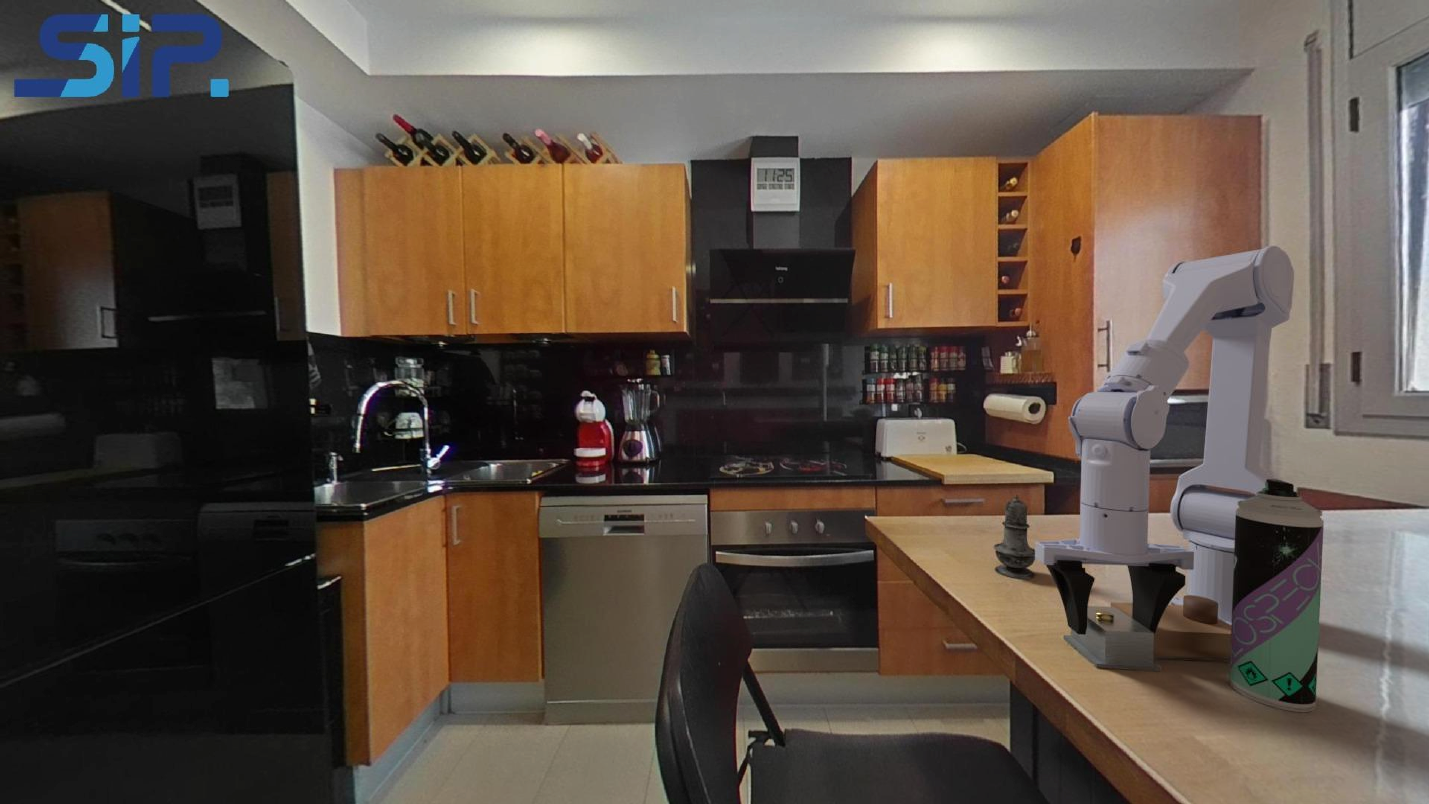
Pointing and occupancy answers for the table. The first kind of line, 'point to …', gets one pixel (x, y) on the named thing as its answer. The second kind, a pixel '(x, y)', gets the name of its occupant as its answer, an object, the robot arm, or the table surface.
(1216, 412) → the robot arm
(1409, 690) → the table surface
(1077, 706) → the table surface
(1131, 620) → the grey knob block
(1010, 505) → the salt shaker
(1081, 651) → the mat
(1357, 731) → the table surface
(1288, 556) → the spray can
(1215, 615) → the body
